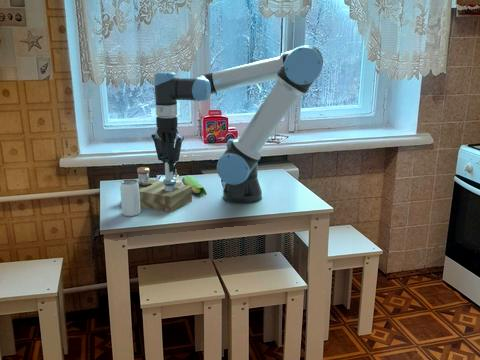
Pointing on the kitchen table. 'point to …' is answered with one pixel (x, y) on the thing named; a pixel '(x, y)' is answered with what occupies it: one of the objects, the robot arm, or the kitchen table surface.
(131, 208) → the can
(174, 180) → the salt shaker
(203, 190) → the edible corn
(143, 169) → the copper lidded jar
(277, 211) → the kitchen table surface
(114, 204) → the kitchen table surface
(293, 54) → the robot arm
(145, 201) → the oak block
